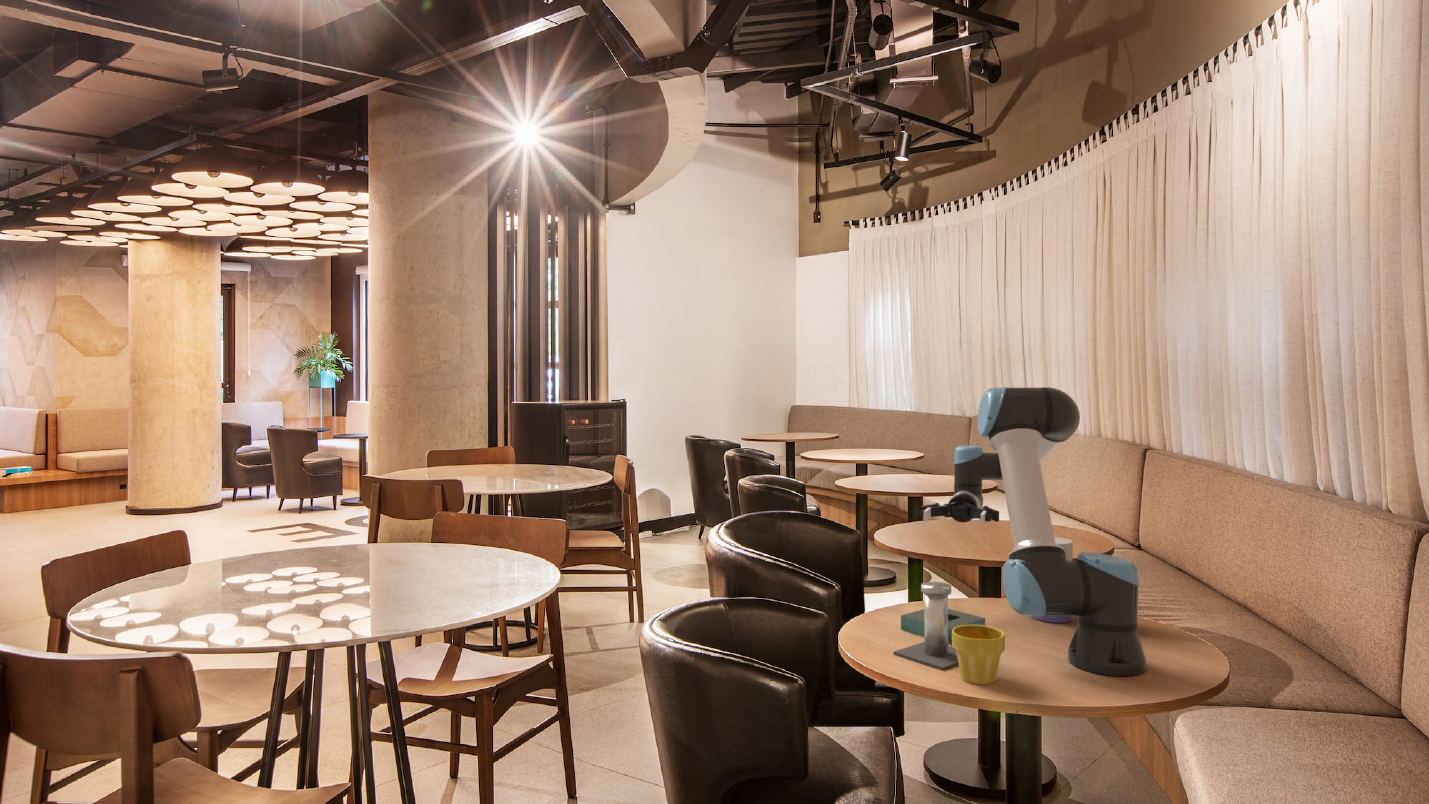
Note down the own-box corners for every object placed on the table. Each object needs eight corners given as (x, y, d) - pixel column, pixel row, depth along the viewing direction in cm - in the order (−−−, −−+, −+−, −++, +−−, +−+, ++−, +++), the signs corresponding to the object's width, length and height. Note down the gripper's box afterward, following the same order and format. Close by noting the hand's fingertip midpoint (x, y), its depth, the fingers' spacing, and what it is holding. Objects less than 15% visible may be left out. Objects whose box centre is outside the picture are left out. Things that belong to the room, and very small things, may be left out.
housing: (985, 632, 204) (985, 618, 204) (949, 644, 195) (949, 629, 195) (936, 619, 215) (936, 605, 215) (900, 629, 206) (900, 615, 206)
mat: (978, 657, 186) (978, 654, 186) (942, 670, 178) (942, 667, 178) (930, 642, 196) (930, 640, 196) (893, 654, 188) (893, 651, 188)
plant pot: (946, 682, 171) (946, 634, 171) (957, 667, 180) (957, 621, 180) (999, 692, 166) (1000, 642, 166) (1008, 675, 175) (1009, 628, 175)
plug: (957, 653, 187) (957, 585, 186) (939, 659, 183) (939, 590, 182) (933, 646, 192) (933, 580, 191) (915, 652, 188) (915, 584, 187)
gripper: (1012, 523, 224) (1006, 537, 205) (916, 517, 234) (902, 530, 215) (1012, 495, 224) (1006, 506, 205) (916, 490, 234) (902, 500, 214)
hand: (953, 518), depth 210 cm, fingers open, 13 cm apart
